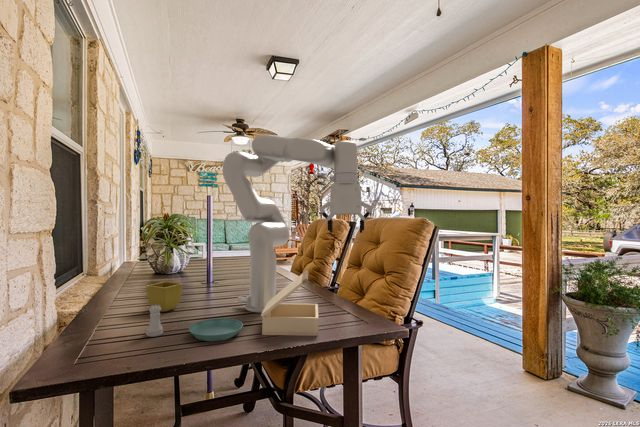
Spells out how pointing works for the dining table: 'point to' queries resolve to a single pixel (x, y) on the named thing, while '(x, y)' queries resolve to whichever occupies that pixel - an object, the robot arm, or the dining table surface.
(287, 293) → the box lid
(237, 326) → the saucer
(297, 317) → the cream open box
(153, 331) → the rook chess piece
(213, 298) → the dining table surface
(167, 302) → the flower pot
